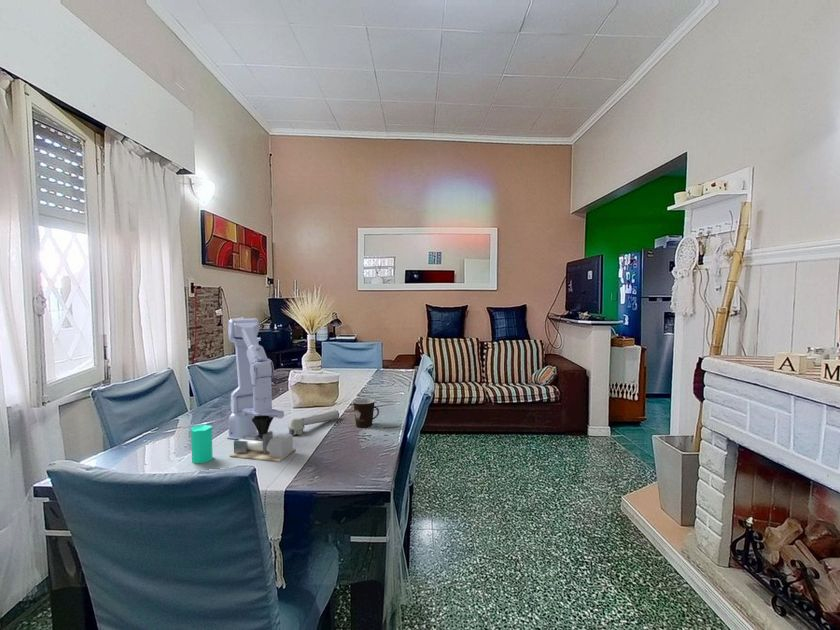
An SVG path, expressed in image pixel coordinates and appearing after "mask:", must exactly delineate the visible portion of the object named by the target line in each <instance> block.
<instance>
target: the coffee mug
mask: <svg viewBox="0 0 840 630" xmlns="http://www.w3.org/2000/svg"><path fill="white" fill-rule="evenodd" d="M352 403H353V411H354V418H355V420H354V421H355V426H356V428H359V429H368V428H371V427H373V422H374V419H376V418H377V417H378V416H379V414H380V410H379V408H378V406H375V403H376V402H375V399H373V398H366V397H365V398H357V399H355V400H353V401H352ZM375 410H376V411H377V414H376V415H375V416H374V411H375Z"/></svg>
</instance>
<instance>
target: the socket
mask: <svg viewBox="0 0 840 630" xmlns="http://www.w3.org/2000/svg"><path fill="white" fill-rule="evenodd" d="M269 443H270V457H275V458H283V457H284V456H286V455H287V454H289V453H290V452H292V451H293V449H294V448H293V447H294V446H293V435H290V434H289V433H286V434H285V433H279V434H278V435H276V436H274V437H273V438H272V439H271V440H269ZM292 453H293V452H292Z"/></svg>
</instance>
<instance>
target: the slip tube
mask: <svg viewBox="0 0 840 630" xmlns="http://www.w3.org/2000/svg"><path fill="white" fill-rule="evenodd" d="M273 433H274V432H273V431H271V430H268V432H267V433H266V434H264V435H263V439H262V440H257V441H255V440H244V439H240V440H239V439H237V440H238V441H247V443H248V450H253V451H263V453H264V454H266V453H268V452H270V443H269V440H271V439H272V438H274V437H273V436H274V435H273Z"/></svg>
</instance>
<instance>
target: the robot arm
mask: <svg viewBox="0 0 840 630" xmlns="http://www.w3.org/2000/svg"><path fill="white" fill-rule="evenodd" d="M227 331H228V332H227V333H228V336H227V337H228V340H229V342H230V343H233V345H234V348H235V360H236V374H237V387H236V388H235V389H234V390H233V391H232V392H231V394H230V403H229V404H230V411H231V412H232V413H231V414H230V415H229V417H228V436H227V437H226V438H227V439H230V440H240V439H243V436H245V435H247V436H257V437H259V439H262V440H263V435H264V434H266V433H267V432H269V429H270V426H271V423H272V422H273V419H274V418H277V419H279V420H280V419H283V418H284V417H285V412H284V410H279V409H274V408H273V398H272V397H273V396H272V395H273V394H272V393H273V392H272V390H273V389H272V378H273V377H274V374H275V368H274V363H273V361H272V360H271V359H270V358H268V356H267V354H266V351H265V349H264V346H262V345H260V344H259V339H258V336H259V335H258V334H259V332H260V321H259V320H258V318H256V317H254V318H230V319H229V320H228V323H227Z"/></svg>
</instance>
